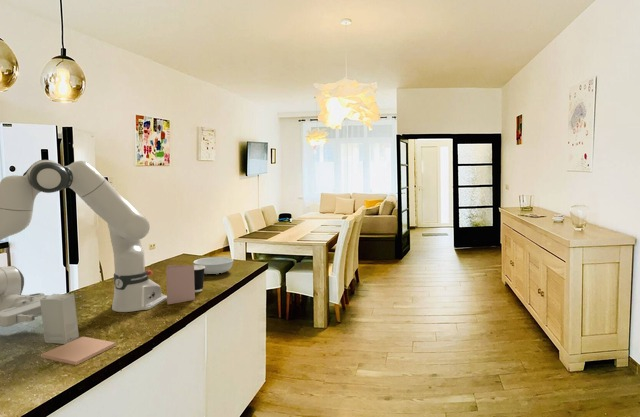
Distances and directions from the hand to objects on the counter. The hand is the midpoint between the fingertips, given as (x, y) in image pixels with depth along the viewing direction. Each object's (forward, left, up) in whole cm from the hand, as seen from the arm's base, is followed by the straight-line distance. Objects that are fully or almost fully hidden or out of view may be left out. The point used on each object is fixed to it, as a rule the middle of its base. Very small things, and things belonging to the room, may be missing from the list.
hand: (46, 313), depth 136 cm
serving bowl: (-93, +1, -9) cm, 93 cm away
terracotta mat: (+4, +19, -8) cm, 21 cm away
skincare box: (0, +6, -9) cm, 10 cm away
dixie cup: (-62, +13, -8) cm, 64 cm away
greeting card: (-46, +16, -8) cm, 49 cm away
